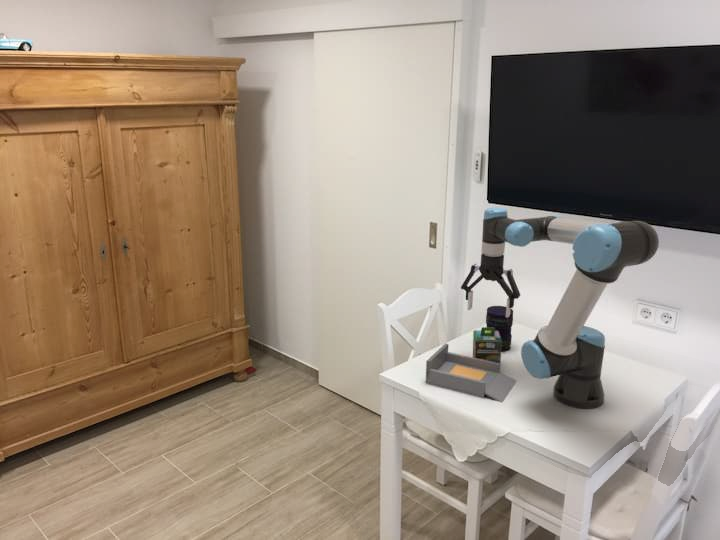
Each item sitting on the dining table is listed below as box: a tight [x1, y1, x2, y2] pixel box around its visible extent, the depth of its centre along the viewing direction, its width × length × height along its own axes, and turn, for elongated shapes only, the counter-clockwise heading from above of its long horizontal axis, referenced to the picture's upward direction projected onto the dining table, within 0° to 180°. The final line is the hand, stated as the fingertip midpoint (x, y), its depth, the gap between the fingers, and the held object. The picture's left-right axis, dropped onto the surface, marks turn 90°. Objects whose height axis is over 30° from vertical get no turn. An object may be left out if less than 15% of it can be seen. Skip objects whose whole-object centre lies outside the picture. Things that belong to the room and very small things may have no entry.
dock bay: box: [425, 343, 518, 403], centre depth 197 cm, size 26×16×8 cm, turn 60°
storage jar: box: [485, 305, 514, 353], centre depth 223 cm, size 10×10×15 cm
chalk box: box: [472, 326, 502, 364], centre depth 208 cm, size 9×9×15 cm
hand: (488, 312), depth 205 cm, fingers open, 13 cm apart
